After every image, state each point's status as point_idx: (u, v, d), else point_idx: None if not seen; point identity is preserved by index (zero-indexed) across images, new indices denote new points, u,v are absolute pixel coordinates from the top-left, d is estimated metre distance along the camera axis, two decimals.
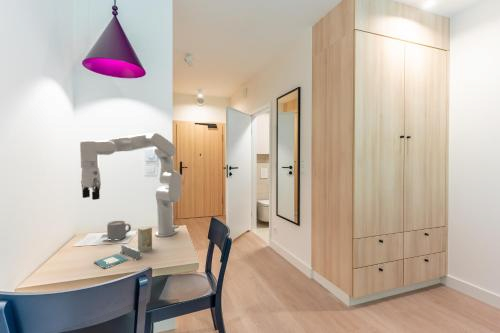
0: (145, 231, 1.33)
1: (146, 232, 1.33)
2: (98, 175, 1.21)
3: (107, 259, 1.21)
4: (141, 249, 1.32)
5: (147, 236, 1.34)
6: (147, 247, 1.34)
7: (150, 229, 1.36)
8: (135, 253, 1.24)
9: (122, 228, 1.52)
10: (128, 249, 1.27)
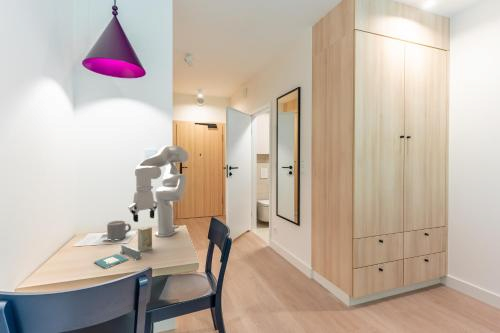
0: (145, 231, 1.33)
1: (146, 232, 1.33)
2: None
3: (107, 259, 1.21)
4: (141, 249, 1.32)
5: (147, 236, 1.34)
6: (147, 247, 1.34)
7: (150, 229, 1.36)
8: (135, 253, 1.24)
9: (122, 228, 1.52)
10: (128, 249, 1.27)
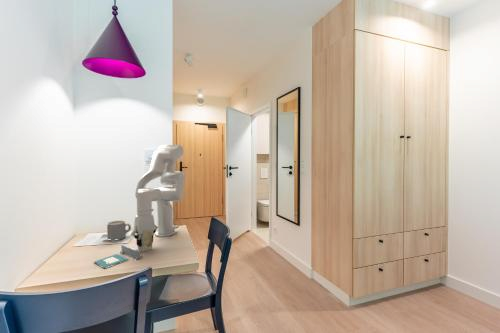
0: (145, 231, 1.33)
1: (146, 232, 1.33)
2: None
3: (107, 259, 1.21)
4: (141, 249, 1.32)
5: (147, 236, 1.34)
6: (147, 247, 1.34)
7: None
8: (135, 253, 1.24)
9: (122, 228, 1.52)
10: (128, 249, 1.27)
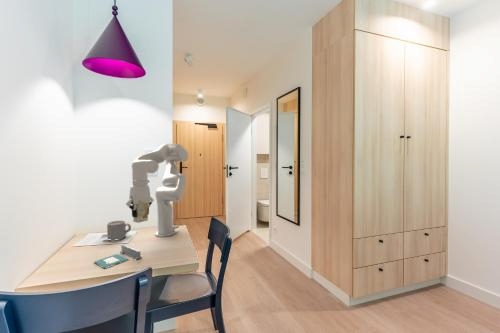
0: (141, 202, 1.30)
1: (142, 203, 1.31)
2: None
3: (107, 259, 1.21)
4: (136, 220, 1.29)
5: (143, 207, 1.31)
6: (143, 218, 1.31)
7: None
8: (135, 253, 1.24)
9: (122, 228, 1.52)
10: (128, 249, 1.27)
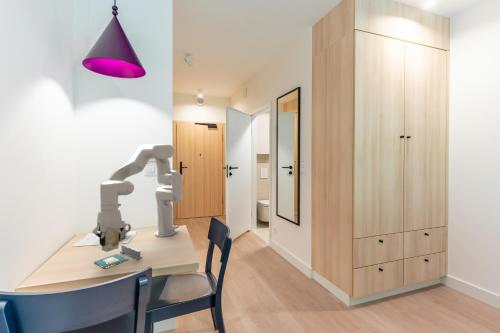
0: (110, 228, 1.17)
1: (111, 230, 1.18)
2: None
3: (107, 259, 1.21)
4: (105, 249, 1.16)
5: (112, 234, 1.18)
6: (113, 246, 1.19)
7: None
8: (135, 253, 1.24)
9: None
10: (128, 249, 1.27)
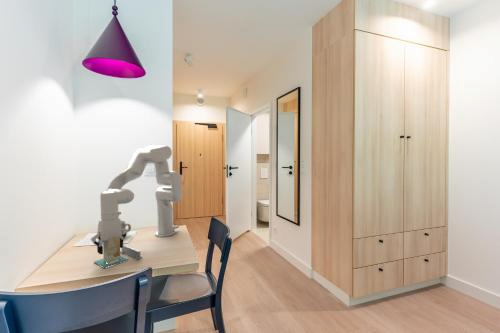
0: (111, 239, 1.18)
1: (112, 240, 1.18)
2: None
3: None
4: (106, 260, 1.17)
5: (114, 245, 1.19)
6: (114, 257, 1.19)
7: (118, 237, 1.21)
8: (135, 253, 1.24)
9: None
10: (128, 249, 1.27)
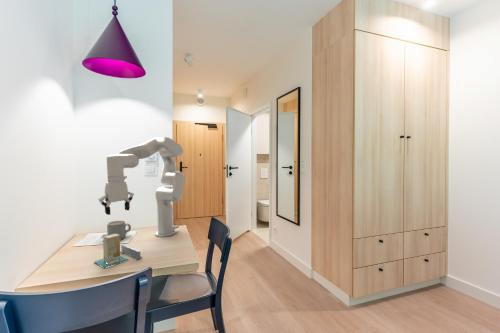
0: (111, 239, 1.18)
1: (112, 240, 1.18)
2: None
3: None
4: (106, 260, 1.17)
5: (114, 245, 1.19)
6: (114, 257, 1.19)
7: (118, 237, 1.21)
8: (135, 253, 1.24)
9: (122, 228, 1.52)
10: (128, 249, 1.27)
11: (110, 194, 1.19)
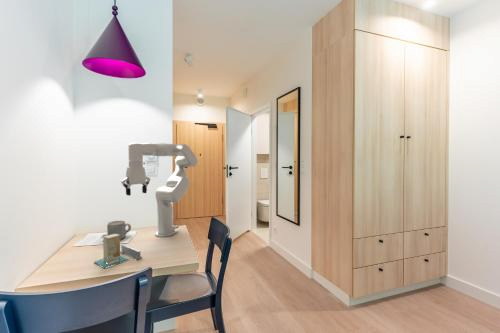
0: (111, 239, 1.18)
1: (112, 240, 1.18)
2: None
3: None
4: (106, 260, 1.17)
5: (114, 245, 1.19)
6: (114, 257, 1.19)
7: (118, 237, 1.21)
8: (135, 253, 1.24)
9: (122, 228, 1.52)
10: (128, 249, 1.27)
11: (131, 177, 1.35)
